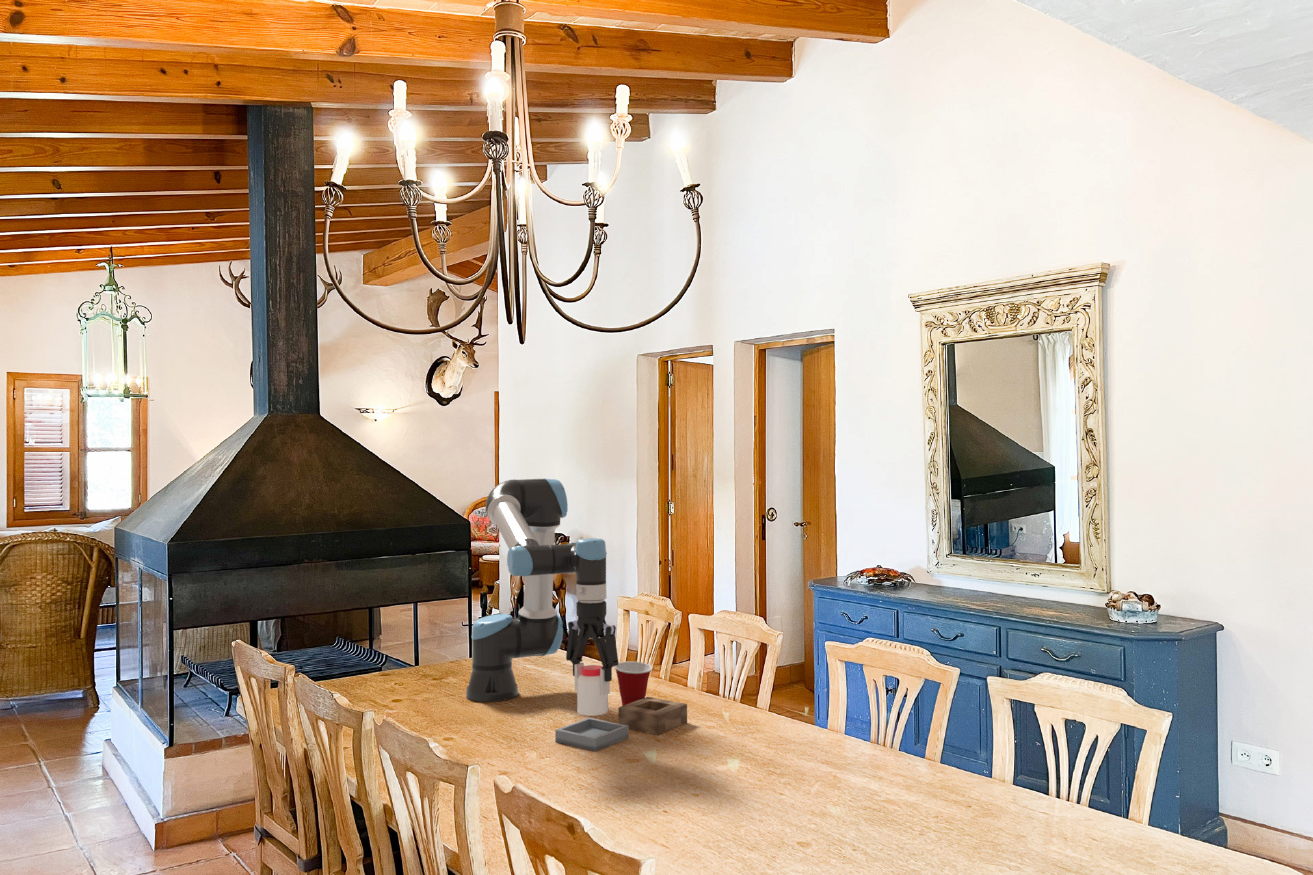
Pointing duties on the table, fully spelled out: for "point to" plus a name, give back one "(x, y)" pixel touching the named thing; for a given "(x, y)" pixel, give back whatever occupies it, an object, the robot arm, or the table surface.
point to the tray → (592, 734)
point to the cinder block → (653, 715)
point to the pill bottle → (590, 692)
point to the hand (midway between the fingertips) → (592, 691)
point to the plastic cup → (632, 680)
